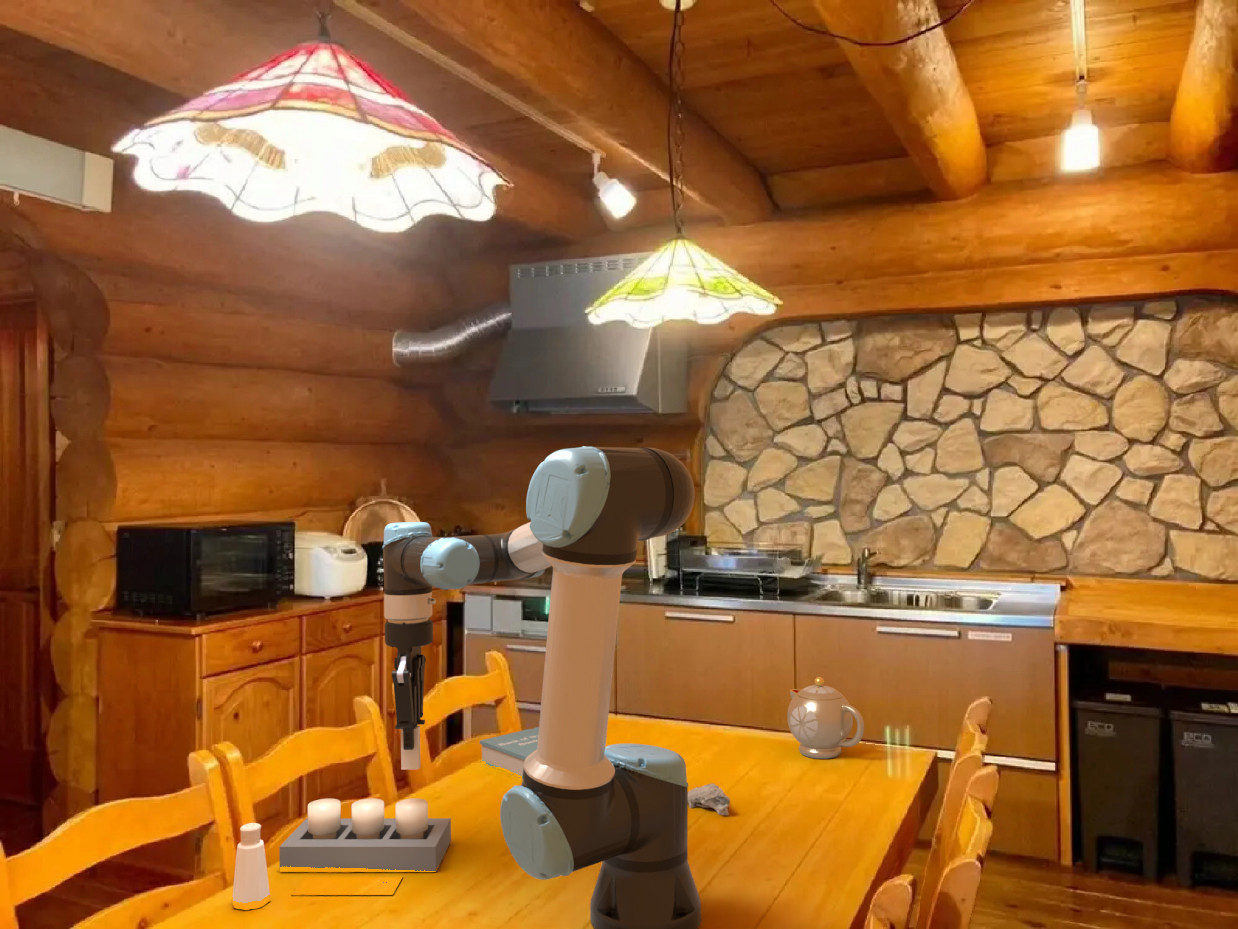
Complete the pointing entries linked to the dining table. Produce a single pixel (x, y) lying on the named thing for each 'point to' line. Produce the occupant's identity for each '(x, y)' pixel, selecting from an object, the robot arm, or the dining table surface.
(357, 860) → the gray compartment tray
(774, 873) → the dining table surface
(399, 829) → the button
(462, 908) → the dining table surface
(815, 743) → the teapot
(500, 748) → the book
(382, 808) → the button mid
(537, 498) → the robot arm
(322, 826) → the button
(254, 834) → the salt shaker
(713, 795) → the stone
